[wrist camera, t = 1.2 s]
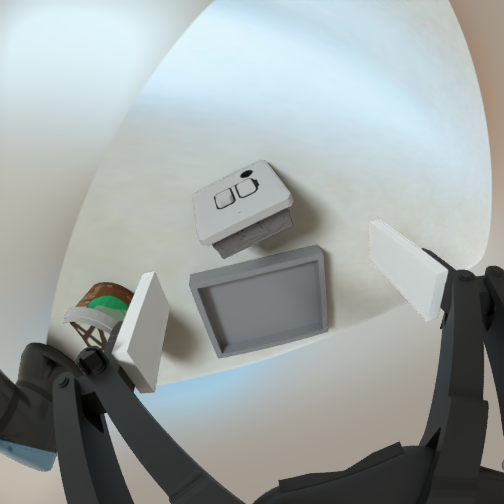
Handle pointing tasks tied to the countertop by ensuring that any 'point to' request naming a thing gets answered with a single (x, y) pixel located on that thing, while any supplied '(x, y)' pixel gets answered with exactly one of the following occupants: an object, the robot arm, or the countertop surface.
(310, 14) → the countertop surface
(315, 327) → the back box
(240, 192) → the electrical switch
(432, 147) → the countertop surface
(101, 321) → the food container
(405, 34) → the countertop surface
